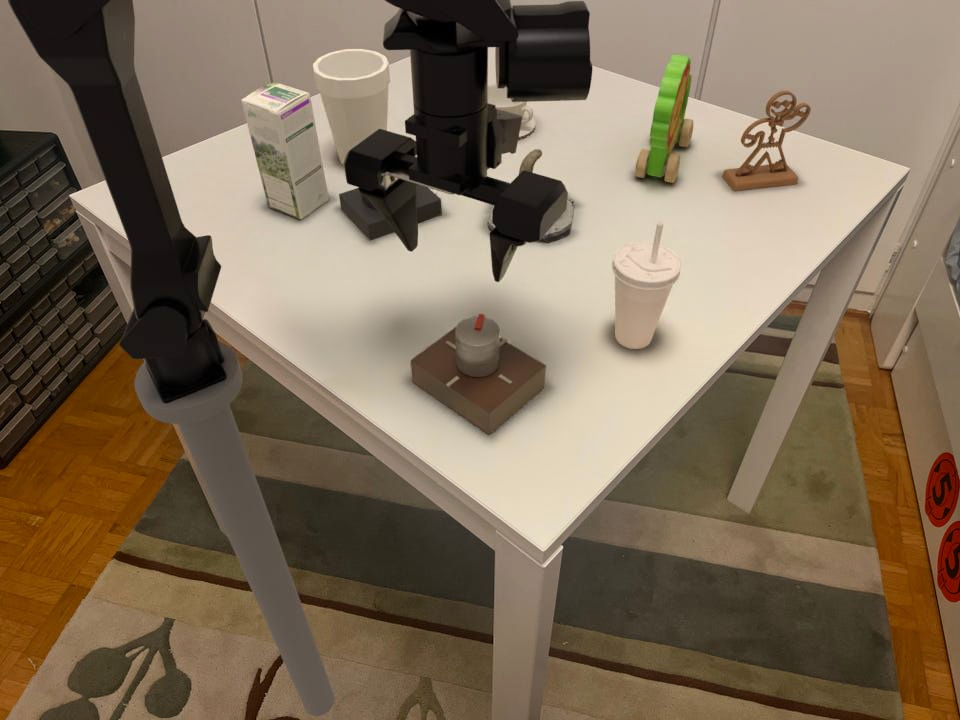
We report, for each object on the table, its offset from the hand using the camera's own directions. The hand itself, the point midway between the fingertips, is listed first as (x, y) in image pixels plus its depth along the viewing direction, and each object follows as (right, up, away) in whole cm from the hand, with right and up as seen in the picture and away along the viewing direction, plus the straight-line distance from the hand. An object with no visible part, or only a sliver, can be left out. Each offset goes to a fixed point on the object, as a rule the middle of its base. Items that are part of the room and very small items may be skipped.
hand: (455, 263), depth 68 cm
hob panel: (+2, -11, +4) cm, 12 cm away
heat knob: (+2, -9, +2) cm, 9 cm away
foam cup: (-14, +19, +35) cm, 42 cm away
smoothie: (+18, -7, +9) cm, 21 cm away
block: (-9, +10, +25) cm, 28 cm away
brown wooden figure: (+39, +15, +30) cm, 51 cm away
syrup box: (-21, +11, +27) cm, 35 cm away
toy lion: (+27, +18, +33) cm, 46 cm away
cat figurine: (+9, +9, +24) cm, 27 cm away
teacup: (+5, +25, +41) cm, 48 cm away
